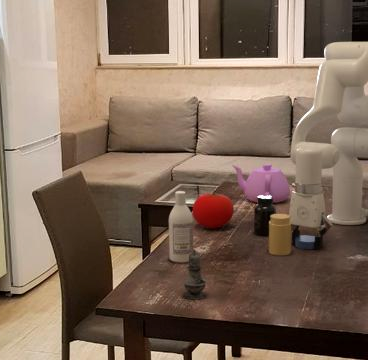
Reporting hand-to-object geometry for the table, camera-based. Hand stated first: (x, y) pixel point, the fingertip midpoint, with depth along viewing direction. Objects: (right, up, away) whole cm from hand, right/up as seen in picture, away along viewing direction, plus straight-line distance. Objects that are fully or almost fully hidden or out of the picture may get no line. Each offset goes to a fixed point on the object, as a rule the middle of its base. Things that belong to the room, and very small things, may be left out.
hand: (306, 245), depth 224 cm
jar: (-9, -1, -5) cm, 11 cm away
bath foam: (-38, -3, -9) cm, 40 cm away
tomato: (-25, +4, +24) cm, 36 cm away
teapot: (-3, +12, +59) cm, 61 cm away
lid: (0, +2, 0) cm, 2 cm away
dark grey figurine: (-37, -9, -38) cm, 54 cm away
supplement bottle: (-10, +2, +15) cm, 18 cm away
